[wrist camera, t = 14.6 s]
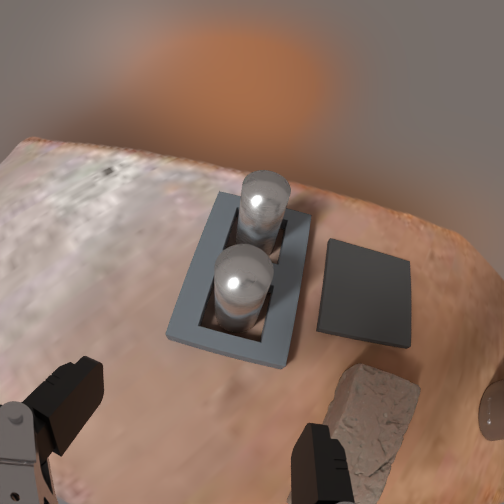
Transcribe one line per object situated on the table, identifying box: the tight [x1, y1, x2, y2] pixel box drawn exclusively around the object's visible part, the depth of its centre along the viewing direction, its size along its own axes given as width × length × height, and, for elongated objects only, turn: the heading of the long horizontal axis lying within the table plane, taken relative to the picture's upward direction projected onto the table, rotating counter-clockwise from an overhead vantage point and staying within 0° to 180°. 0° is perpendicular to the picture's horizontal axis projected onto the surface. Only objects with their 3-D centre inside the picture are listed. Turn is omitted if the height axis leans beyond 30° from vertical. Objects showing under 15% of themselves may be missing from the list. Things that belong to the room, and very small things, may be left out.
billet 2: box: [214, 244, 274, 333], centre depth 28 cm, size 5×5×10 cm
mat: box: [316, 238, 411, 349], centre depth 34 cm, size 12×12×1 cm
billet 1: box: [236, 170, 291, 256], centre depth 32 cm, size 5×5×10 cm
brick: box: [287, 363, 420, 504], centre depth 24 cm, size 17×8×5 cm, turn 155°
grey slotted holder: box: [166, 191, 311, 369], centre depth 33 cm, size 12×19×2 cm, turn 167°
